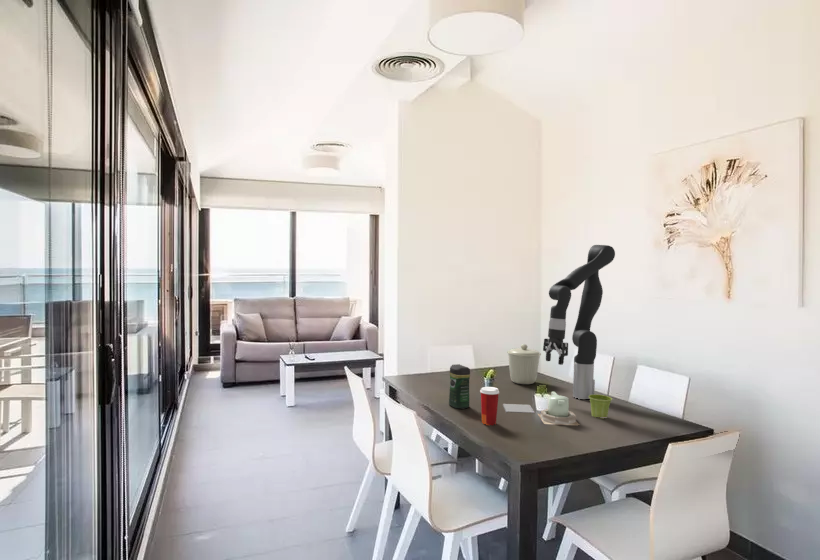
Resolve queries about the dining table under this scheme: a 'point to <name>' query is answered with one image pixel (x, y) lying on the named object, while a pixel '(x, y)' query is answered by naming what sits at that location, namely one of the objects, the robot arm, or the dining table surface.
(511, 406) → the coaster
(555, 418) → the holder
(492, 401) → the paper cup
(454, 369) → the coffee jar
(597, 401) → the plant pot
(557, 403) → the pitcher
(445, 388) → the dining table surface
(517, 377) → the canister
